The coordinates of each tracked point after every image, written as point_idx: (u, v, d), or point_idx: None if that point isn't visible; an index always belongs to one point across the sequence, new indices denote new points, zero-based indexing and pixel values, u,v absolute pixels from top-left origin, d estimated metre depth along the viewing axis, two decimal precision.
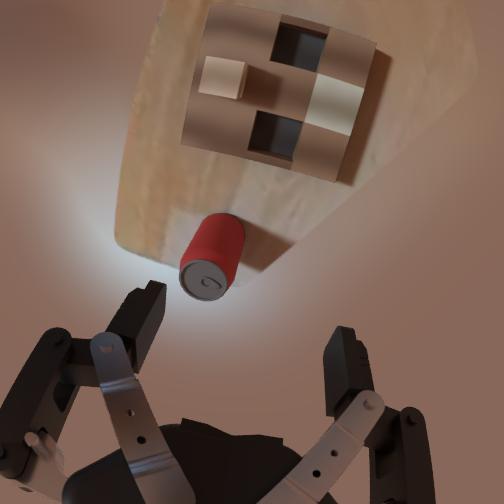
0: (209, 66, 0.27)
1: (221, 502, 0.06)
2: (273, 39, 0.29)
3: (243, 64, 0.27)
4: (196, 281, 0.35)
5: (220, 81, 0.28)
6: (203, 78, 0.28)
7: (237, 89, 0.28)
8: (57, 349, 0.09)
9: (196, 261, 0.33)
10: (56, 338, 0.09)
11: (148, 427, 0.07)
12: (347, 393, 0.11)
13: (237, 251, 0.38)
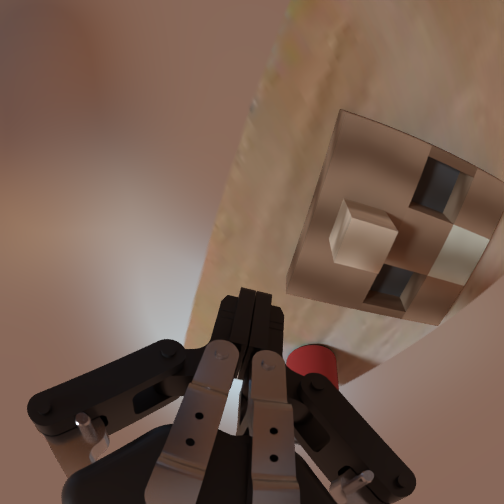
0: (353, 233, 0.23)
1: (222, 502, 0.06)
2: (417, 180, 0.24)
3: (396, 234, 0.22)
4: None
5: (365, 252, 0.23)
6: (343, 246, 0.23)
7: (382, 263, 0.24)
8: (173, 362, 0.10)
9: None
10: (169, 351, 0.10)
11: (204, 436, 0.07)
12: (249, 352, 0.12)
13: None
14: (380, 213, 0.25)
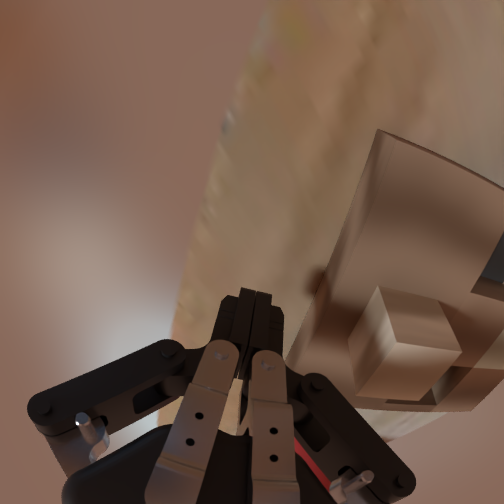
0: (394, 361, 0.12)
1: (221, 502, 0.06)
2: (490, 253, 0.13)
3: (458, 355, 0.12)
4: None
5: (406, 381, 0.13)
6: (374, 377, 0.13)
7: (427, 389, 0.13)
8: (173, 362, 0.10)
9: None
10: (168, 351, 0.10)
11: (204, 436, 0.07)
12: (249, 352, 0.12)
13: None
14: (433, 308, 0.14)
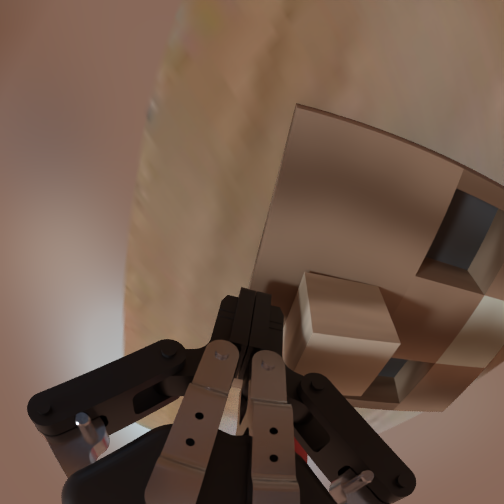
0: (317, 353, 0.12)
1: (222, 502, 0.06)
2: (435, 231, 0.13)
3: (396, 347, 0.12)
4: None
5: (338, 375, 0.13)
6: (299, 371, 0.13)
7: (368, 384, 0.13)
8: (173, 362, 0.10)
9: None
10: (169, 351, 0.10)
11: (204, 436, 0.07)
12: (249, 352, 0.12)
13: None
14: (370, 295, 0.14)
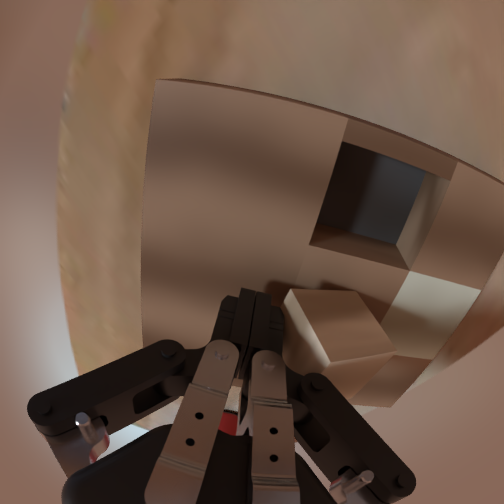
0: (327, 377, 0.12)
1: (222, 502, 0.06)
2: (322, 191, 0.13)
3: (392, 354, 0.13)
4: None
5: (338, 389, 0.13)
6: None
7: (360, 387, 0.14)
8: (173, 362, 0.10)
9: None
10: (169, 350, 0.10)
11: (204, 436, 0.07)
12: (249, 352, 0.12)
13: None
14: (354, 304, 0.14)
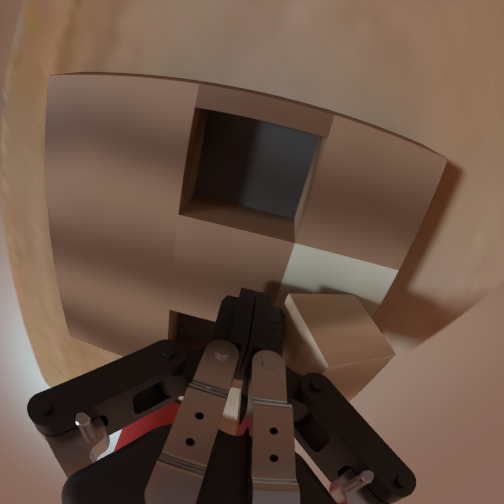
0: None
1: (222, 502, 0.06)
2: (182, 159, 0.13)
3: (391, 357, 0.13)
4: None
5: None
6: None
7: (359, 390, 0.14)
8: (173, 362, 0.10)
9: None
10: (168, 351, 0.10)
11: (204, 436, 0.07)
12: (249, 352, 0.12)
13: None
14: (353, 307, 0.15)
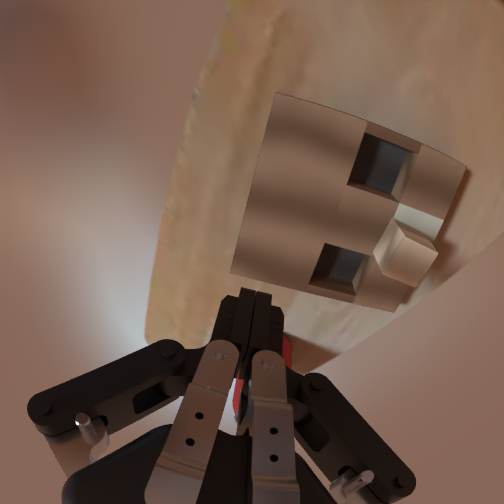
0: (404, 250, 0.25)
1: (221, 502, 0.06)
2: (354, 156, 0.25)
3: (436, 255, 0.24)
4: None
5: (409, 268, 0.25)
6: (393, 261, 0.25)
7: (420, 278, 0.26)
8: (173, 362, 0.10)
9: None
10: (168, 351, 0.10)
11: (204, 436, 0.07)
12: (249, 352, 0.12)
13: None
14: (421, 234, 0.27)
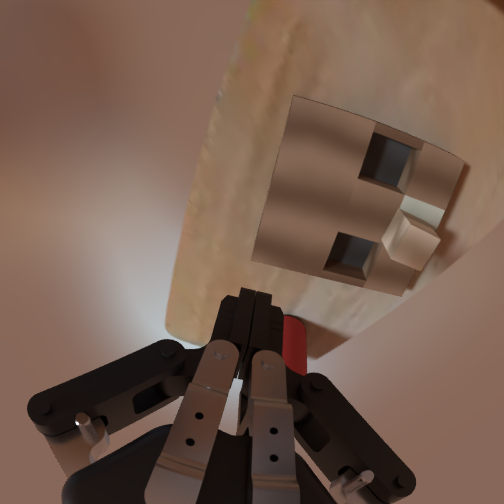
0: (409, 236, 0.27)
1: (221, 502, 0.06)
2: (364, 153, 0.28)
3: (439, 241, 0.27)
4: None
5: (414, 253, 0.28)
6: (400, 246, 0.28)
7: (425, 263, 0.28)
8: (173, 362, 0.10)
9: None
10: (168, 351, 0.10)
11: (204, 436, 0.07)
12: (249, 352, 0.12)
13: (306, 361, 0.37)
14: (425, 223, 0.29)
